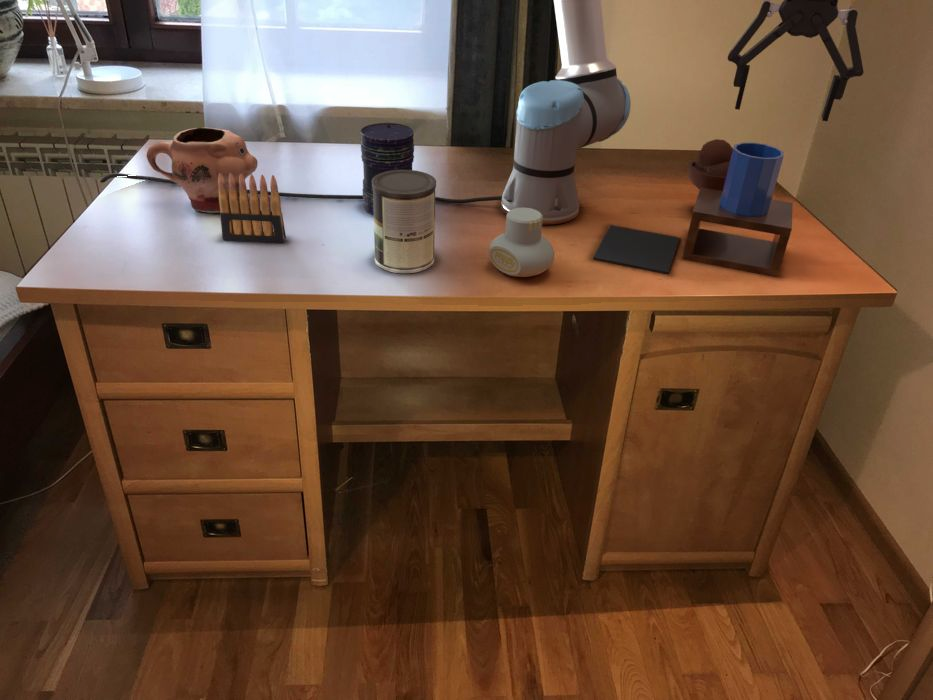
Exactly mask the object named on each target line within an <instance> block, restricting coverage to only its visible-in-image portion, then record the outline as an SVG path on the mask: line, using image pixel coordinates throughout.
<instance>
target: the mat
mask: <svg viewBox="0 0 933 700" xmlns="http://www.w3.org/2000/svg"><path fill="white" fill-rule="evenodd" d="M680 240H681V237H678V236H673V235H669V234H668V235H667V234H662V233H656V232H652V231H646V230H640V229H635V228H629V227H624V226H619V225H614V224H610V225H609V227H608V228H607V231H606V232H605V235H604V236H603V238H602V240H601V242H600V244H599V245H598V248H597V249H596V251H595V253H594V255H593V256H592V260H594V261H599V262H603V263H610V264H613V265H614V264H615V265H619V266H625V267H630V268H633V269H640V270H645V271H650V272H654V273H660V274H666V275H669V273H670V270H671V267H672V263H673V260H674V258H675V254H676V252H677V249H678V246H679V243H680Z"/></svg>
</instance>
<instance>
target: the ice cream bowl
mask: <svg viewBox="0 0 933 700" xmlns="http://www.w3.org/2000/svg"><path fill="white" fill-rule="evenodd" d="M732 151H733V146H732V145H731V143H729V142H728V141H727V140H725V139H719V138H718V139H717V138H715V139H712V140H709V141H707V142H705V143H704V144H703V145H702V147H701V149H700V150H699V151H698V153H697V154H696V156H695V158H693V159H692V160H690V162H688V164H687V175H688V178H689V180H690V181H691V182H692V184H693V185H694V186H695V187H696V188H697V190H700V188H707V189H713V190H719V191H723V189H724V184H725V180H726V176H727V172H728V168H729V164H730V159H731V155H732Z"/></svg>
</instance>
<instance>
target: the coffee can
mask: <svg viewBox="0 0 933 700" xmlns="http://www.w3.org/2000/svg"><path fill="white" fill-rule="evenodd" d="M372 187H373V212H374V215H373V235H374V236H373V237H374V238H373V239H374V240H373V241H374V263H375V265H376V266H377V267H378V268H380V269H382V270H384V271H386V272H390V273H395V274H415V273H419V272H423V271H425V270H427V269H429V268H430V267H432V266H433V265H434V263H435V260H436V259H435V234H436V233H435V229H436V228H435V226H436V201H435V197H436V188H437V180H436V178H435V177H434V176H433V175H432V174H429V173H426V172H424V171H420V170H415V169H412V170H391V171H386V172H383V173H380V174H378V175H376V176H375V177H374V178H373V179H372Z"/></svg>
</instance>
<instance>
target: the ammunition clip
mask: <svg viewBox="0 0 933 700" xmlns="http://www.w3.org/2000/svg"><path fill="white" fill-rule="evenodd" d="M228 183H229V197H228V194H227V190H226V185H225V181H224V178H223V175H222V174H221V173H219V176H218V187H219V203H220V210H221V212H219V217H220V226H221V227H220V228H221V235H222V240H223V241H225V242H226V241H227V242H248V243H268V244H269V243H270V244H272V243H273V244H285V241H286V240H287V235H286V229H285V222H284V216H283V211H282V204H281V203H282V202H281V196H279V192H280V191H279V186H278V182H277V179H276V177H275V175H274V174H272V175H271V178H270V192H271V196H269V195H268V190H269V189H268V184H267V181H266V178H265V176H264V174H261V175H260V179H259V191H260V195H258V192H257V190H258V187H257V182H256V179H255V176H254V174H253V173H252V174H250V175H249V181H248V186H249V187H247V183H246V179H244V177H243V175H242V174H240V176H239V193H240V196H239V197H238V194H237V189H236V184H235V180H234V177H233V175H232V174H231V173H230V174H229V181H228ZM248 188H249V190H250V194H248V193H247V189H248ZM239 201H240V202H239ZM229 202H230V203H229Z"/></svg>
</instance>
